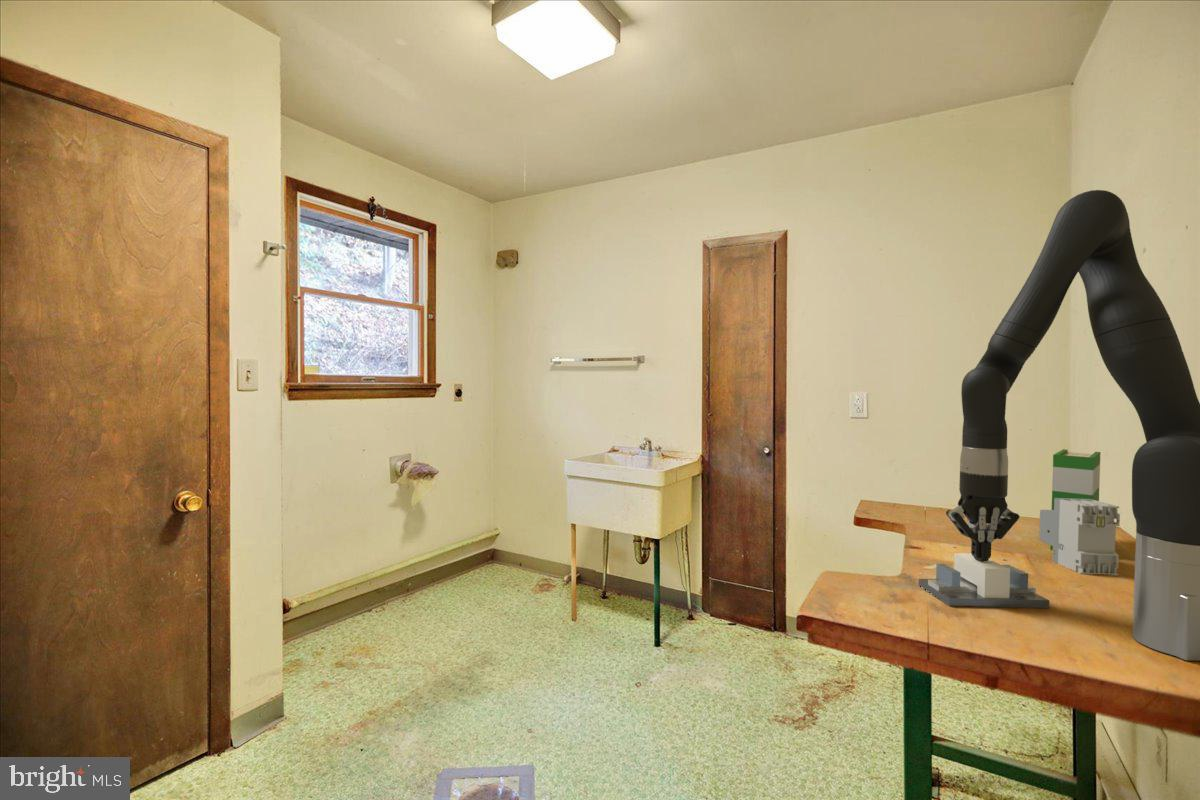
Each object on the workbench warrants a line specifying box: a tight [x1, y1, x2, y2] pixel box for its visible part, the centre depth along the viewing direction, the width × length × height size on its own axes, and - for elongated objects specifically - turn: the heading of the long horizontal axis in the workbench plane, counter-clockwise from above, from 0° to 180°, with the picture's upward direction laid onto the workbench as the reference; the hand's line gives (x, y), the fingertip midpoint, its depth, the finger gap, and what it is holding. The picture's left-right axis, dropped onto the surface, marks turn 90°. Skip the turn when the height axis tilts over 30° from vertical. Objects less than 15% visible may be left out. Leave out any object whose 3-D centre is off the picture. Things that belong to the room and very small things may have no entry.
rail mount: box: [918, 563, 1050, 609], centre depth 103 cm, size 10×18×6 cm, turn 88°
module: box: [953, 552, 1010, 598], centre depth 103 cm, size 9×4×6 cm, turn 178°
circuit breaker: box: [1038, 498, 1121, 576], centre depth 122 cm, size 8×14×15 cm, turn 174°
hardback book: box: [1049, 449, 1101, 551], centre depth 136 cm, size 18×7×24 cm, turn 133°
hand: (981, 559), depth 103 cm, fingers closed
